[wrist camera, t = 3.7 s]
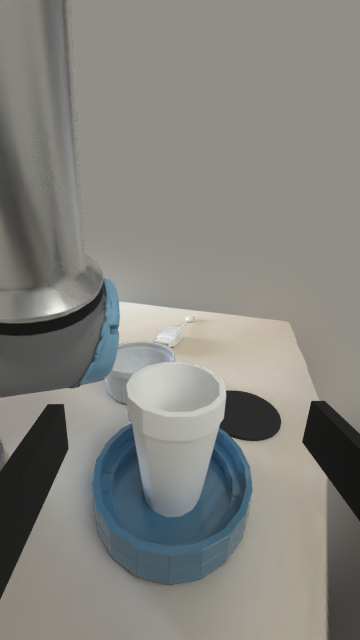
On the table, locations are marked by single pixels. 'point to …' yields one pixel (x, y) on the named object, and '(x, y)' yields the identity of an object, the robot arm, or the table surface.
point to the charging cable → (172, 334)
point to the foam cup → (174, 431)
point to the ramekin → (134, 364)
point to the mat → (249, 417)
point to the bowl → (170, 532)
